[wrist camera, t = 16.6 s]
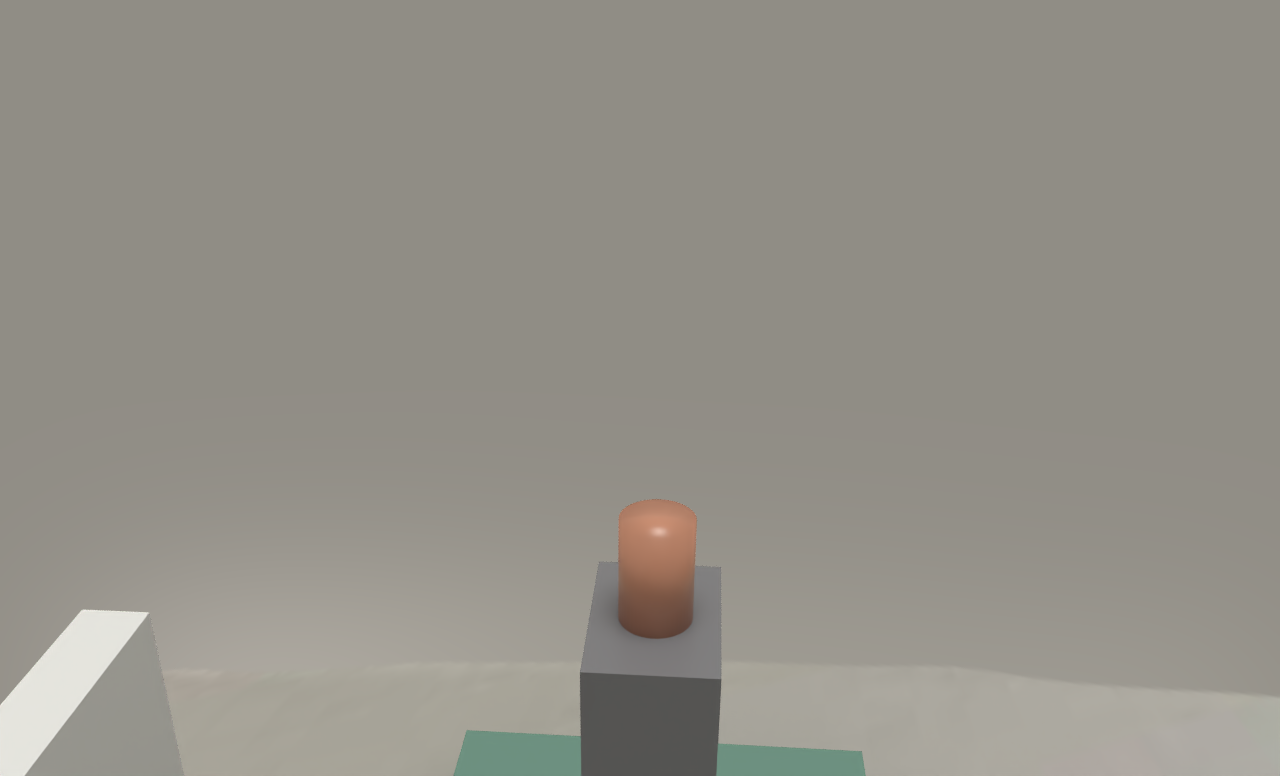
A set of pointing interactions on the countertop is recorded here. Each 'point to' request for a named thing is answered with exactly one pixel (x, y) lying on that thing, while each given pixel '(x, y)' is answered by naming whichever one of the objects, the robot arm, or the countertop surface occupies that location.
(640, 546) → the plug
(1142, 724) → the countertop surface
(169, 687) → the countertop surface
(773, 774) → the board
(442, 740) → the countertop surface
